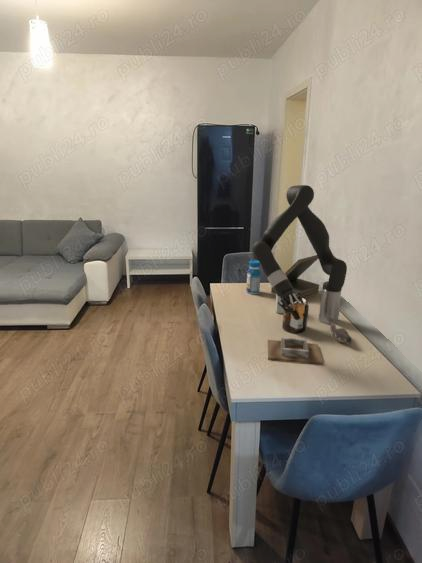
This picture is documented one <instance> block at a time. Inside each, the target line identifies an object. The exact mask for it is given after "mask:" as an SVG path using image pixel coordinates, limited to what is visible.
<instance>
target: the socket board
mask: <svg viewBox="0 0 422 563" xmlns="http://www.w3.org/2000/svg"><path fill="white" fill-rule="evenodd" d="M319 347H320V346H319V344H318V343H310V342H307V339H303V338H294V337H293V338H292V337H281V338H280V340H276V339H275V340H274V339H267V360H270V361H280V362H290V363H301V364H313V365H320V366H321V365H324V361H323V358H322V355H321V351H320V350H321V349H320V348H319Z"/></svg>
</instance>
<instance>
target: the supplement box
mask: <svg viewBox="0 0 422 563" xmlns="http://www.w3.org/2000/svg"><path fill="white" fill-rule="evenodd" d="M275 295H276V296H275V314H284V309H283V308H282V307H281V306H280V305H279V304H278V302H279V301H280V300H281V298H280V296H277V294H275Z"/></svg>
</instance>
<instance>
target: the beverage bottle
mask: <svg viewBox="0 0 422 563" xmlns="http://www.w3.org/2000/svg"><path fill="white" fill-rule="evenodd" d="M248 266H249V267H248V269H247V271H246V272H247V274H246V289H245V290H246V291H245V292H246V293H247V294H250V295H258V294H260V287H261V276H262V275H261V273H262V272H261V269H260V267H261V264H260V262H259V261H258V260H256V259H253V260H250V261H249V262H248Z"/></svg>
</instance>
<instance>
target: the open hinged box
mask: <svg viewBox="0 0 422 563" xmlns="http://www.w3.org/2000/svg"><path fill="white" fill-rule="evenodd" d="M318 260H319V259H318V256H317V254H315V255H313V256H308V257H303V258H300V259H298V260H297V261H296V262H295V263H294V264H293V265H292V266H290V268H289V269H288V270H286V271H285V272H284V273H285V275H286V276H287V278H288V280H289V281H290V283H291V284H292V286H293V289H292V290H293V291H294V292H295V293H300V294H301V297H302V298H303V299H305V300H306V299H308V298H310V297H313V296H316V295H318V294H319V292H320V290H319V289H320V284H319V283H315V282H312V281H307V280H305V279H301V278H299V277H300V276H301V275H303V273H304V272H306V271H307V270H308V269H309V268H310V267H311V266H312V265H313V264H314V263H315V262H316V261H318ZM270 290H271V292H270V294H273V293H274V295H276V293H275V291H274V289H273V288H272V287H271V289H270Z"/></svg>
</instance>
